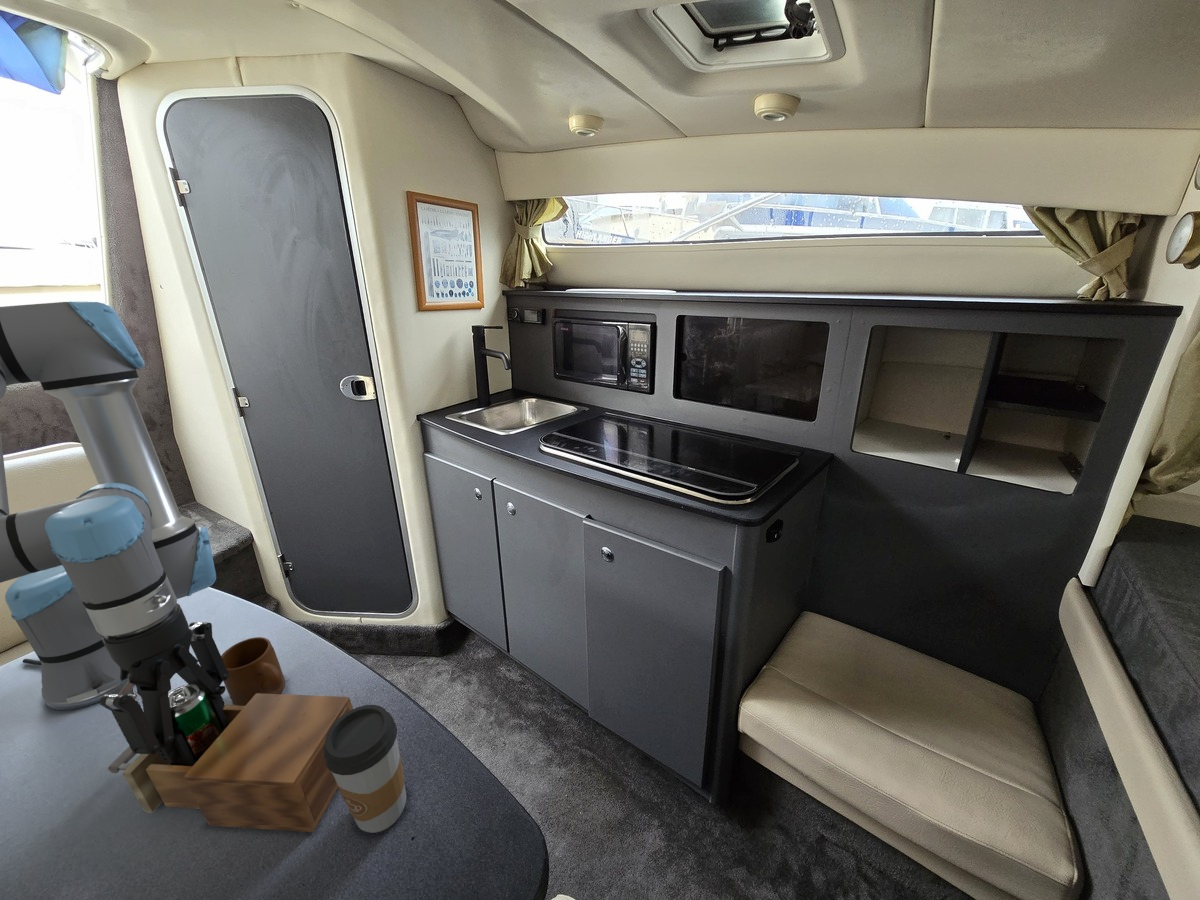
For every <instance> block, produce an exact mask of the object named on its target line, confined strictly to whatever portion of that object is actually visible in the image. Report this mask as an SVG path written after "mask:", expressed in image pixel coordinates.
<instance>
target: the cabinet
mask: <svg viewBox="0 0 1200 900" xmlns="http://www.w3.org/2000/svg"><path fill="white" fill-rule="evenodd" d="M353 709H354V707H353V703H352V701H351V697H350V696H332V695H312V694H311V695H310V694H309V695H306V694H285V693H281V694H261V693H256V694H255V695H254V697H253V698H252V699H251V700H250V701H249V702H248V703H247V705H246V706H245V707H244V708H243V709H242V710H241V711H240V713H239V714H238V715H237V716H236V717H235V718H234V720H233V721H232V722H231V723H230V724H229V725H228V726H227V728H226V729H225V730H224V731H223V732H222V733H221V734H220V736H219V737H218V738H217V739H216V740H215V741H214V742H213V744H212V745H211V746H210V747H209V748H208V749H207V751H206V752H205V753H204V754H203V755H202V756H201V757H200V759H199V760H198V761H197V762H196V763H195V764H194V765H193V767H192V768H191V769H190V770H189V771H188V772H187V774H186V775H185V776H184V778H185V780H186V782H187V784H188V786H189V788H190V790H191V792H192V794H193V796H194V797H195V799H196V801H197V803H198V805H199V807H200V809H199V810H200V811H201V813H202V815H203V817H204V819H205V820H206V822H207V825H208V826H210V827H211V826H212V827H224V828H225V827H226V828H240V829H241V828H242V829H256V830H269V831H270V830H271V831H287V832H303V833H314V832H315V830H316V828H317V826H318V825H319V823H320V821H321V819H322V818H323V816H324V814H325V812H326V811H327V808H328V807H329V805H330V803H331V801H332V800H333V798H334V796H335V794H336V793H337V791H338V790H339V788H338V786H337V782H336V780H335V778H334V776H333V774H332V772H331V771H330V770H329V769H328V767H327V766H326V764H325V758H324V745H325V739H326V736H327V733H328V731H329V729H330V728H331V726H332V725H333V724H334V723H335V722H336V721H337V720H338V719H339V718H340V717H341V716H342V715H344V714H345V713H347V712H349V711H350V710H353Z"/></svg>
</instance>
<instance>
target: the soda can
mask: <svg viewBox="0 0 1200 900" xmlns="http://www.w3.org/2000/svg"><path fill="white" fill-rule="evenodd" d="M168 695H169V702H170V709H171V717H172V724H173V732H174V733H175V734H182V736H183V738H184V740H185V742H186V744H187V746H188V748H189V750H190V752H191V754H192V756H193V758H194V760H195V762H197V761H198V760H199V759H200V757H201V756H202V755H203V754H204V753H205V752H206V751H207V749H208V748H209V747H210V746H211V745H212V744H213V742H214V741H215V740H216V739H217V738H218V737H219V736H220V734H221V733H222V732H223V730H222V728H221V725H220V723H219V721H218V719H217V717H216V714H215V712H214V710H213V708H212V706H211V703H210V701H209V699H208V697H207V695H206V692H205V691H204V689H202V688H199V686H197V685H195V684H188V683H187V684H183V685H181V686H178V687H176V688H175V689H172V690H170V691H169V692H168Z"/></svg>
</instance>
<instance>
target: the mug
mask: <svg viewBox="0 0 1200 900" xmlns="http://www.w3.org/2000/svg"><path fill="white" fill-rule="evenodd" d="M220 655H221V657H222V659H223V662H224V664H225V666H226V668H227V671H228V673H229V677H228V679H227V680H226V681H223V682H222V683H223V684H224V686H225V687H226V689H225V690H226V691H227V693H228V695H229V697H230V699H231V702H232V704H233V705H234V706H246V705H247V703H248V702H249V701H250V700H251V699H252V698H253V697H254V695H255V694H256V693H261V694H283V692H284V689H285V686H286V680H285V677H284V673H283V670H282V667H281V665H280V662H279V659H278V656H277V653H276V650H275V649H274V646H273V645H272V643H271V641H270V639H268V638H266V637H263V636H255V637H251V638H247V639H243V640H241V641H239V642H237V643H235V644H233V645H232V646H230V647H228V648H227V649H226V650H225V651H224V652H223V653H222V654H220Z"/></svg>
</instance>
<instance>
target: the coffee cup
mask: <svg viewBox="0 0 1200 900" xmlns="http://www.w3.org/2000/svg"><path fill="white" fill-rule="evenodd" d="M397 735H398V727H397V723H396V722H395V720H394V717H393V716H392V714H391V713H390V712H389V711H388V710H386V709H385V708H384V707H382V706H381V705H376V704H364V705H360V706H357V707H355V708H353V710H350V711H349V712H347V713H345V714H344V715H342V716H341V717H340V718H339V719H338V720H337V721H336V722H335V723H334V724H333V725H332V726H331V728H330V729H329V731H328V733H327V736H326V739H325V745H324V758H325V764H326V766H327V767H328V769H329V770H330V771H331V772H332V774H333V776H334V778H335V780H336V782H337V786H338V791H339V792H340V795H341V797H342V798H343V800H344V803H345V805H346V807H347V810H349V813H350V815H351V816H352V817H353V819H354V822H355V823H356V826H357V828H359V829H360V830H361V831H363V832H366V833H370V834H373V833H376V834H377V833H380V832H383V831H385V830H387V829H388V828H390V827H391V826H392V825H394V824H395V823H396V822H397V821H398V819H399V818H400V816H401V815H402V813H403V812H404V809H405V806H406V804H407V791H406V785H405V775H404V769H403V768H404V767H403V762H402V756H401V751H400V747H399V743H398V736H397Z"/></svg>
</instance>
